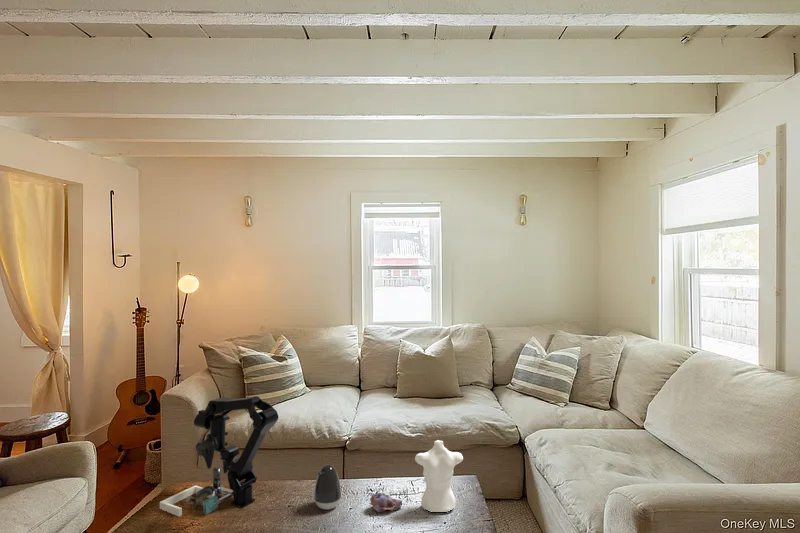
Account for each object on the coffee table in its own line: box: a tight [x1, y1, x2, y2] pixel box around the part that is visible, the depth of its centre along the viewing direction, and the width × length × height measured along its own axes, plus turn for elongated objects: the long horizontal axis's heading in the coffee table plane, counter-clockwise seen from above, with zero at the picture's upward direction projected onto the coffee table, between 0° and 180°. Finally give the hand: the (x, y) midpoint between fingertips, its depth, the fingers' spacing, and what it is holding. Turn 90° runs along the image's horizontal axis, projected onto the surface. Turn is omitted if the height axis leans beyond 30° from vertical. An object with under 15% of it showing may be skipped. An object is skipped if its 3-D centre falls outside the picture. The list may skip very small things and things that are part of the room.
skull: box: [370, 492, 403, 513], centre depth 162 cm, size 12×8×6 cm, turn 96°
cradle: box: [214, 484, 226, 497], centre depth 172 cm, size 2×5×3 cm, turn 152°
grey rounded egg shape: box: [313, 464, 342, 511], centre depth 164 cm, size 10×10×15 cm
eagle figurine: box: [185, 485, 215, 512], centre depth 164 cm, size 8×7×9 cm
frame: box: [159, 484, 215, 517], centre depth 165 cm, size 11×15×2 cm
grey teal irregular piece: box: [202, 466, 234, 515], centre depth 166 cm, size 13×14×10 cm
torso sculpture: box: [414, 439, 464, 512], centre depth 164 cm, size 18×10×25 cm, turn 95°
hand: (217, 470), depth 173 cm, fingers open, 9 cm apart
